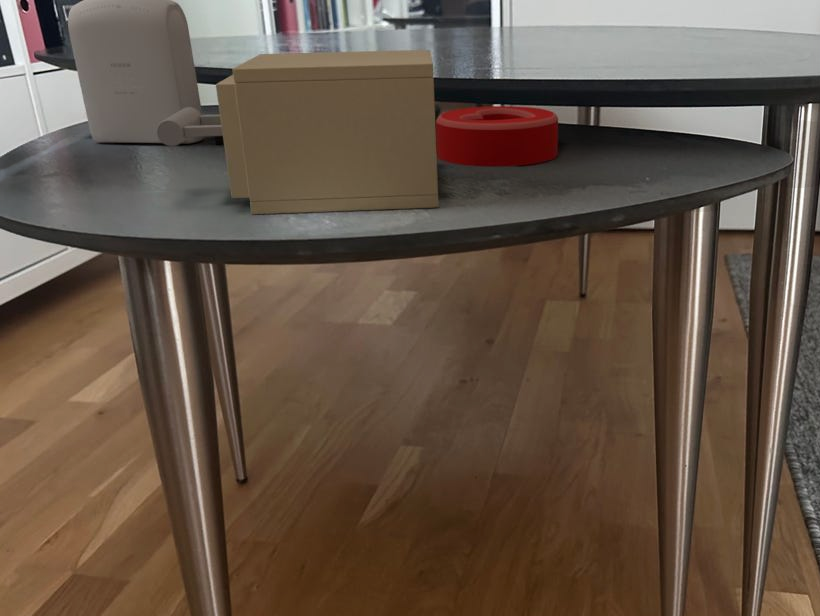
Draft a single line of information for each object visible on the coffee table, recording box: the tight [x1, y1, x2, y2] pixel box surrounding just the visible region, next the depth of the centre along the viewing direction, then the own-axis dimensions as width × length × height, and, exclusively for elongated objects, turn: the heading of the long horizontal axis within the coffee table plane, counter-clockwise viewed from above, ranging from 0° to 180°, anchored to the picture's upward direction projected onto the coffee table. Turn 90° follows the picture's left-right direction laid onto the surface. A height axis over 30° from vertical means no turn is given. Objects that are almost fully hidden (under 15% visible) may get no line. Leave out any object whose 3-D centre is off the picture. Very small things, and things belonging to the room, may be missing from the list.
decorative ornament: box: [435, 105, 559, 167], centre depth 68 cm, size 10×10×3 cm
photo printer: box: [67, 0, 205, 145], centre depth 74 cm, size 10×4×12 cm, turn 78°
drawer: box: [157, 74, 250, 199], centre depth 55 cm, size 15×8×7 cm, turn 94°
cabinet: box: [232, 49, 440, 215], centre depth 55 cm, size 12×10×9 cm
